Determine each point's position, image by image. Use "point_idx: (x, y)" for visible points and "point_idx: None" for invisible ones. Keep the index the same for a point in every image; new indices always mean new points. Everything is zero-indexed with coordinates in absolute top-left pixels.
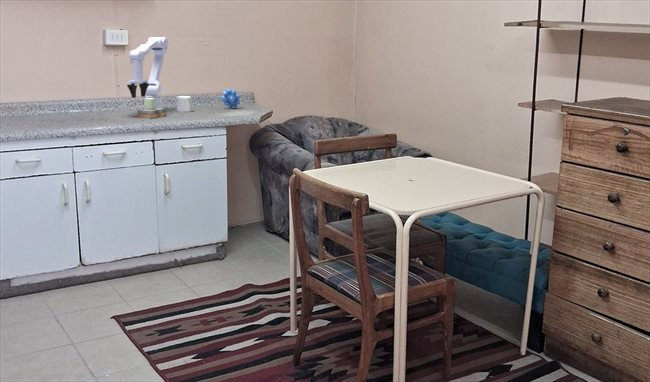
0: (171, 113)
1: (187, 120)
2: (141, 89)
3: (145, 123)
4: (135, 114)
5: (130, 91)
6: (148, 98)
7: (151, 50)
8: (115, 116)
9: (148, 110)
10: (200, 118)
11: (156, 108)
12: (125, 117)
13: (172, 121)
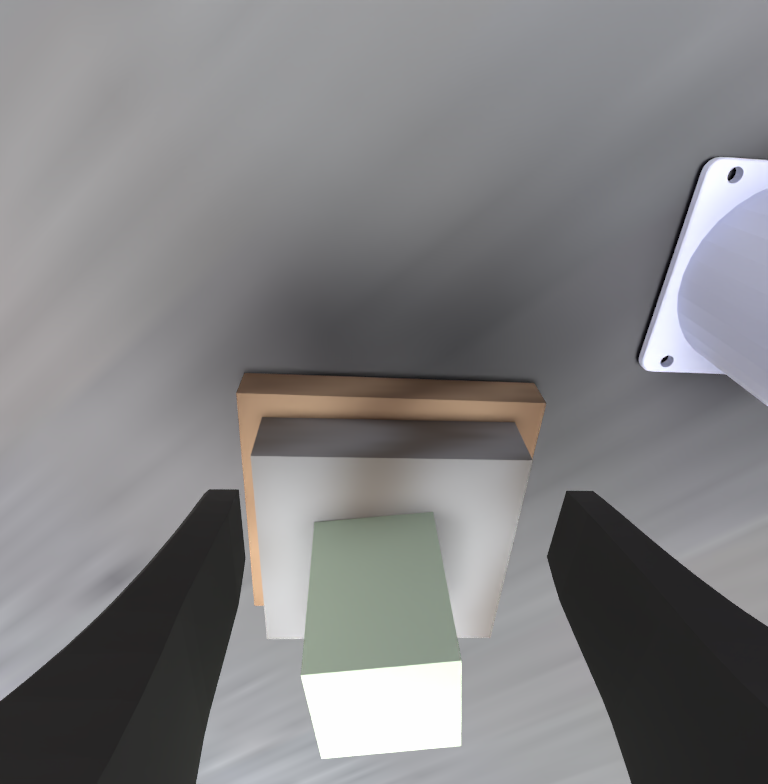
0: (718, 506)
1: (360, 767)
2: (670, 659)
3: (14, 671)
4: (238, 397)
5: (105, 624)
6: (374, 703)
7: None
8: (97, 36)
9: (280, 595)
10: (493, 773)
11: (497, 564)
12: (140, 275)
13: (253, 735)
